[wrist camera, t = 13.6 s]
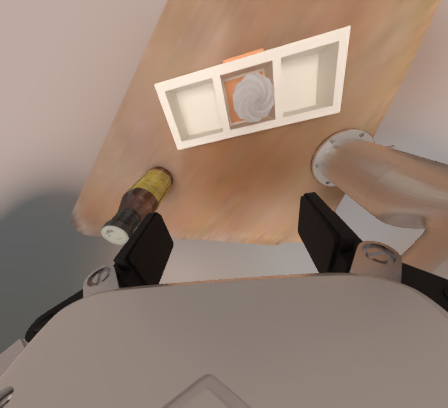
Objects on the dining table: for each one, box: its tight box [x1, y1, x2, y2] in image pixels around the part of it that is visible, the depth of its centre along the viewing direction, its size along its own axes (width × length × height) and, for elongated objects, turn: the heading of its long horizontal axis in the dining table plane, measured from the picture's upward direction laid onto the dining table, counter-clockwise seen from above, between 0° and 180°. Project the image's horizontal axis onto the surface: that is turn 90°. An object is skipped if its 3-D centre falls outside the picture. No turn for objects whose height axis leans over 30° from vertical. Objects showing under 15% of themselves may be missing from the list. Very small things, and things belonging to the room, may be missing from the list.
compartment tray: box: [154, 26, 351, 150], centre depth 28 cm, size 28×11×7 cm, turn 103°
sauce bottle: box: [101, 167, 172, 245], centre depth 33 cm, size 7×6×20 cm
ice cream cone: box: [233, 72, 275, 123], centre depth 24 cm, size 6×6×15 cm
